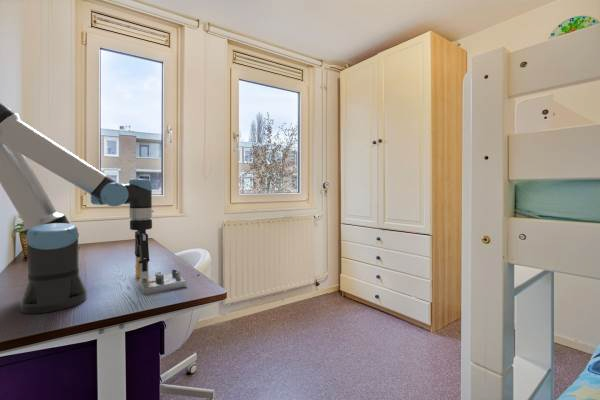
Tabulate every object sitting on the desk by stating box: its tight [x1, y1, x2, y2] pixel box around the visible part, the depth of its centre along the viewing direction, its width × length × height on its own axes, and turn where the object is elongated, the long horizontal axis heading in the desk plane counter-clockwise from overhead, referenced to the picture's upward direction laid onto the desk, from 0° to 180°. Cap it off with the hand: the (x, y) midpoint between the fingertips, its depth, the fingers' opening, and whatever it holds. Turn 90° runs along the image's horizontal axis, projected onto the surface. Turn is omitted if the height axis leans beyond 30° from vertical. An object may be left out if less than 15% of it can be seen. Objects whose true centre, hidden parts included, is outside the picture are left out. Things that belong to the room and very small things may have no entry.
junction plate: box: [138, 268, 187, 295], centre depth 103 cm, size 13×12×4 cm
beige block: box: [135, 258, 146, 280], centre depth 114 cm, size 4×4×7 cm
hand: (142, 276), depth 114 cm, fingers open, 10 cm apart
